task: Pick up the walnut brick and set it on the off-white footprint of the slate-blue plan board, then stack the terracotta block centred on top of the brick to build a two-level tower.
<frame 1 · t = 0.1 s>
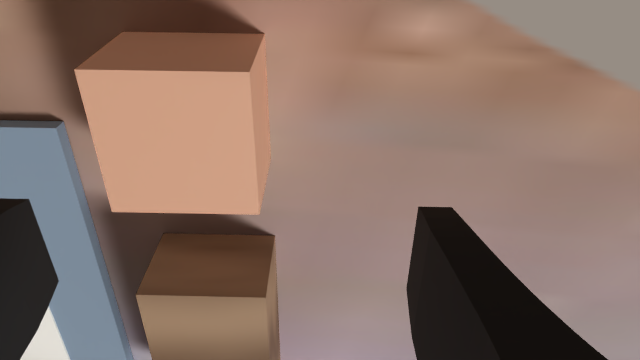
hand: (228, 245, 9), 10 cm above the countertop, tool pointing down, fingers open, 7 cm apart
terracotta block: (202, 97, 19), on the countertop
walnut brick: (228, 302, 25), on the countertop
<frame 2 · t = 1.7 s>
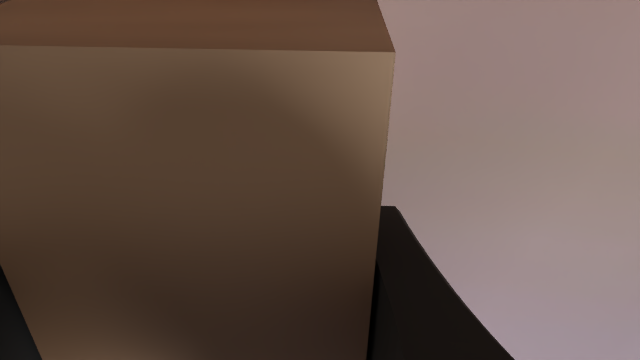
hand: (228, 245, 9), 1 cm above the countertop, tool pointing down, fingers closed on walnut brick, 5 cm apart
walnut brick: (240, 195, 11), on the countertop, touching gripper
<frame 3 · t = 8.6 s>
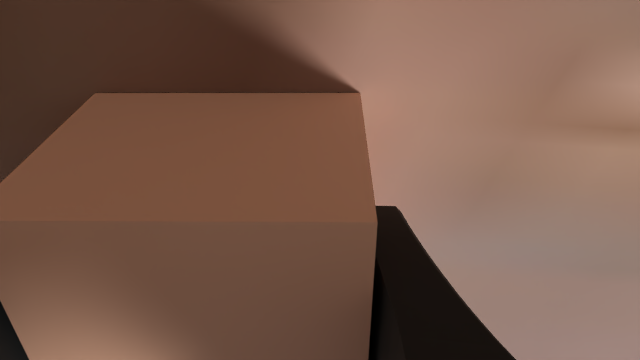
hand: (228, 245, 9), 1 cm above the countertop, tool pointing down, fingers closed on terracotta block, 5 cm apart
terracotta block: (239, 202, 11), on the countertop, touching gripper
when the fingers open (7 cm above the countertop, at t = 12.1 s): terracotta block stays where it is, resting on walnut brick.
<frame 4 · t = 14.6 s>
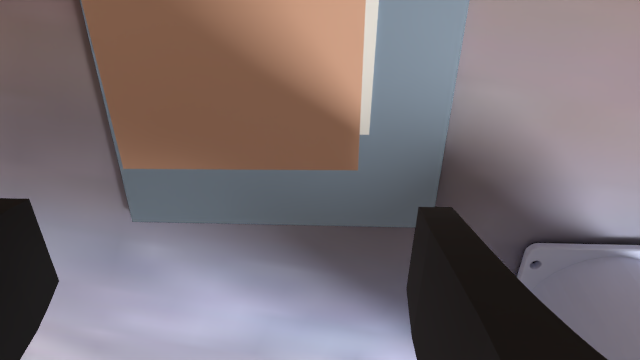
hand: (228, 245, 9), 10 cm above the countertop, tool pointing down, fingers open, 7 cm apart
terracotta block: (255, 4, 13), point 5 cm above the countertop, touching walnut brick
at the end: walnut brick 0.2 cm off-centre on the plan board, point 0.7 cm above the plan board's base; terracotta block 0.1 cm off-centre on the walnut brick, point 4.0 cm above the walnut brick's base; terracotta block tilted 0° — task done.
